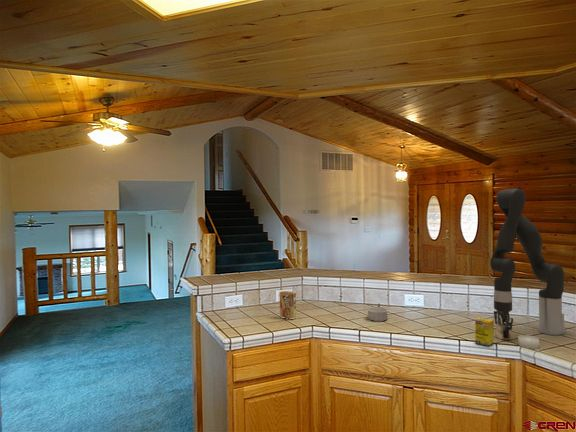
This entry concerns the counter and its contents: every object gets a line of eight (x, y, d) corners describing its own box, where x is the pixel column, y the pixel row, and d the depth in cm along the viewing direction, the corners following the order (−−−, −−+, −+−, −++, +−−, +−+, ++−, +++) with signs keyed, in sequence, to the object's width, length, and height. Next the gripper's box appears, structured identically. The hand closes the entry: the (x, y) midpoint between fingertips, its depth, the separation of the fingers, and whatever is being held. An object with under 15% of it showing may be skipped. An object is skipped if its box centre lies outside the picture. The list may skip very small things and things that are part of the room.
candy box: (296, 318, 220) (296, 291, 220) (294, 320, 217) (293, 293, 216) (282, 316, 224) (282, 290, 224) (279, 318, 220) (279, 292, 220)
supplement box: (475, 344, 174) (474, 319, 174) (480, 340, 178) (479, 317, 178) (489, 347, 170) (489, 322, 169) (494, 343, 174) (493, 319, 174)
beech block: (505, 336, 183) (505, 323, 183) (510, 339, 179) (510, 326, 178) (496, 336, 183) (495, 323, 183) (500, 339, 179) (500, 326, 179)
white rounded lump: (532, 342, 174) (532, 335, 174) (543, 349, 166) (543, 341, 166) (514, 342, 175) (514, 335, 175) (524, 349, 167) (524, 341, 167)
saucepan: (389, 313, 227) (389, 304, 227) (387, 323, 208) (387, 312, 208) (369, 312, 231) (369, 303, 231) (366, 321, 212) (365, 311, 212)
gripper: (519, 303, 173) (519, 341, 174) (503, 296, 188) (503, 331, 188) (502, 303, 174) (502, 341, 174) (487, 296, 188) (488, 331, 188)
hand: (503, 336), depth 181 cm, fingers closed on beech block, 4 cm apart
